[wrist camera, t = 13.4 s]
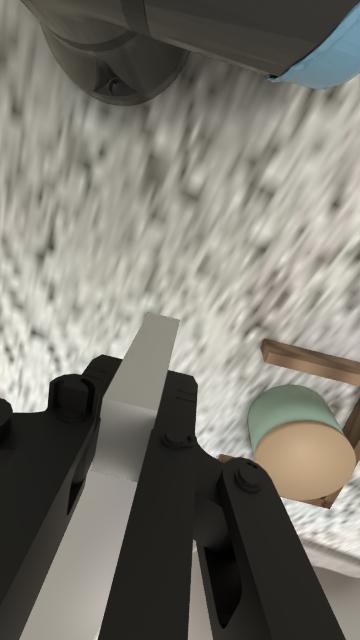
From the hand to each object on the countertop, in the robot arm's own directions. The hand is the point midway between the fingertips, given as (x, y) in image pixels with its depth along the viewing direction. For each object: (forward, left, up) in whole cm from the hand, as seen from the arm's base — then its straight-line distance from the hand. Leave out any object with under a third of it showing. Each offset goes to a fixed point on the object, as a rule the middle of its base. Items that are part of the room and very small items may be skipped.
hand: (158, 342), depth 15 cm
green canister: (+29, -5, -27) cm, 39 cm away
